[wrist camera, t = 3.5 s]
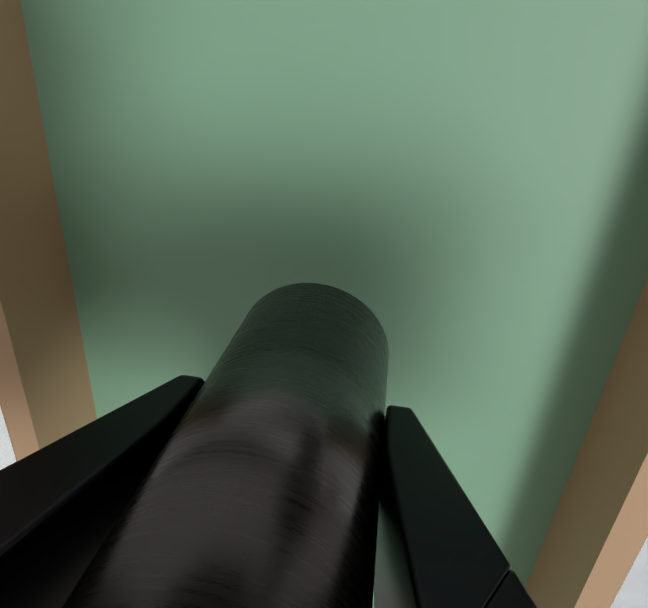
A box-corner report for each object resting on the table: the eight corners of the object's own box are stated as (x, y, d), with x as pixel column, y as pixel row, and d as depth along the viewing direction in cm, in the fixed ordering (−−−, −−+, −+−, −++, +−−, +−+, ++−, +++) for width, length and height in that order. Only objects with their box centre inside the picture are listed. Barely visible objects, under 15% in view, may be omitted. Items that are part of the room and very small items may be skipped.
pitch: (755, 0, 10) (946, -32, 6) (463, 746, 24) (473, 866, 20) (25, -38, 12) (-142, -80, 8) (150, 679, 26) (109, 778, 22)
